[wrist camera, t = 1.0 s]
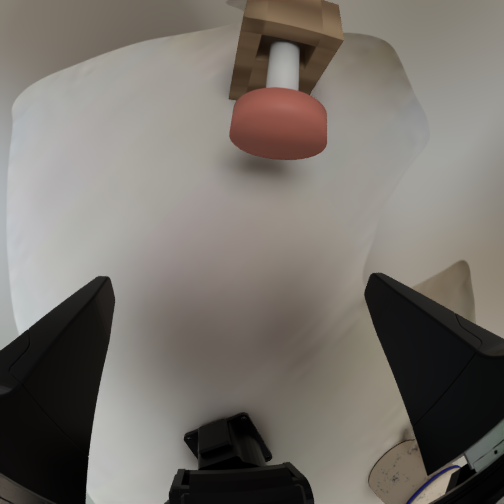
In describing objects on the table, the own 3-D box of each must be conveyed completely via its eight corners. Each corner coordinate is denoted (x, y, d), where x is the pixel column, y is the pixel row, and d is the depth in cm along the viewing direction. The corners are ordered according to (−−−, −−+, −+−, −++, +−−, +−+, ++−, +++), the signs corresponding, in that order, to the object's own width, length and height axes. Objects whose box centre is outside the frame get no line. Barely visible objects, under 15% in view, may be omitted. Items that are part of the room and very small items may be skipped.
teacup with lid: (416, 474, 26) (464, 512, 14) (362, 499, 24) (404, 550, 13) (431, 409, 26) (495, 442, 15) (372, 435, 25) (433, 487, 14)
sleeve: (299, 111, 26) (343, 40, 15) (228, 98, 25) (243, 16, 14) (300, 75, 26) (338, 5, 15) (235, 63, 25) (251, -16, 14)
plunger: (308, 165, 20) (343, 130, 14) (226, 152, 19) (234, 108, 14) (310, 78, 21) (336, 34, 15) (240, 64, 20) (251, 13, 14)
